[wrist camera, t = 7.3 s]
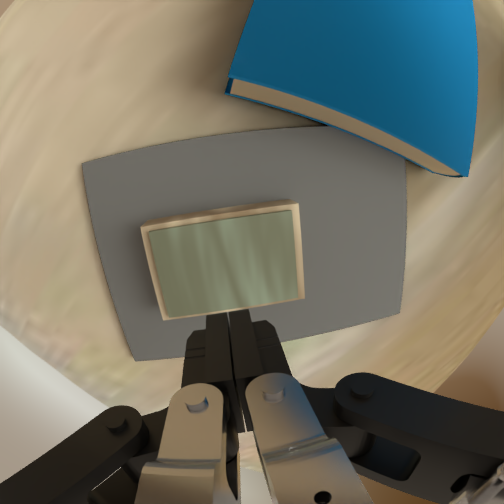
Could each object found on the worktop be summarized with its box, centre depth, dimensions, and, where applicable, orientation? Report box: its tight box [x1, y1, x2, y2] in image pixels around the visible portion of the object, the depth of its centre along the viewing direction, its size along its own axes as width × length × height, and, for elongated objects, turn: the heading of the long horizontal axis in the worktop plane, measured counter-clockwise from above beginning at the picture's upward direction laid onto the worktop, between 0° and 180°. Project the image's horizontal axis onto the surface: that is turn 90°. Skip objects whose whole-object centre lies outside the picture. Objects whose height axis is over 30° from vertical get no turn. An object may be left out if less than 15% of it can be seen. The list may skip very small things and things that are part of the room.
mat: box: [82, 126, 407, 361], centre depth 19 cm, size 22×15×1 cm
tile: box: [140, 199, 305, 320], centre depth 18 cm, size 2×6×9 cm
